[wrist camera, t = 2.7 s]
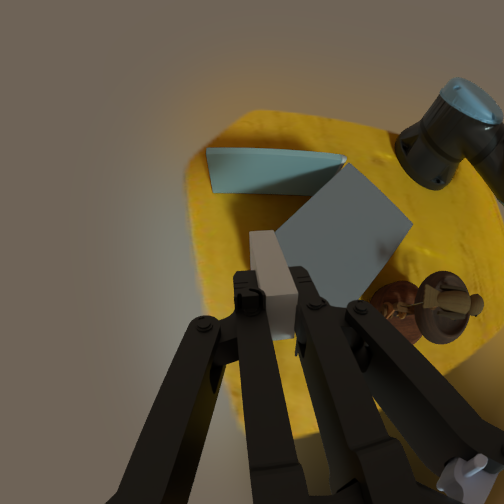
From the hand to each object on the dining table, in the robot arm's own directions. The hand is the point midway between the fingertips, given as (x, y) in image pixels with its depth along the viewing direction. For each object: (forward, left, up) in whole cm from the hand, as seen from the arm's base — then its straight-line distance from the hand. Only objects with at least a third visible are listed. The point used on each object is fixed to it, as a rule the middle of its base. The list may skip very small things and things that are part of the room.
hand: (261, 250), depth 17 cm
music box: (-14, +20, -23) cm, 33 cm away
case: (-10, +3, -23) cm, 25 cm away
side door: (-14, -10, -22) cm, 28 cm away
